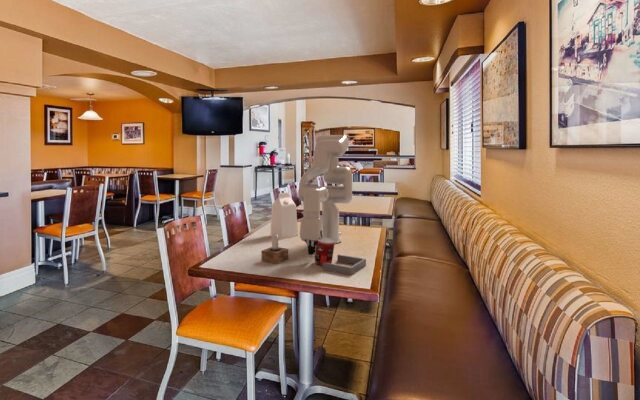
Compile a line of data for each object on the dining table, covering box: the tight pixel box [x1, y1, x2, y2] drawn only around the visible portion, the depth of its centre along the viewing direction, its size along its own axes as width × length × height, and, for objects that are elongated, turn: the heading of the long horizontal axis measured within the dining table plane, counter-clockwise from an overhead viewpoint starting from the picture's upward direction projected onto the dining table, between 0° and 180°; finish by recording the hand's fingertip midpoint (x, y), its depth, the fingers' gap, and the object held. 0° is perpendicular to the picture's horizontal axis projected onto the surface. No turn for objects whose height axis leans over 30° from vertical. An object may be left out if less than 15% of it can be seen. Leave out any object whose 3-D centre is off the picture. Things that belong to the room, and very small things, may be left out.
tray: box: [321, 254, 367, 276], centre depth 163 cm, size 15×14×3 cm
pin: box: [271, 234, 279, 252], centre depth 173 cm, size 3×3×12 cm
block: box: [260, 246, 290, 265], centre depth 174 cm, size 9×9×5 cm
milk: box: [269, 192, 299, 240], centre depth 222 cm, size 12×12×26 cm
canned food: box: [314, 237, 336, 266], centre depth 168 cm, size 8×8×11 cm
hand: (311, 254), depth 171 cm, fingers closed
